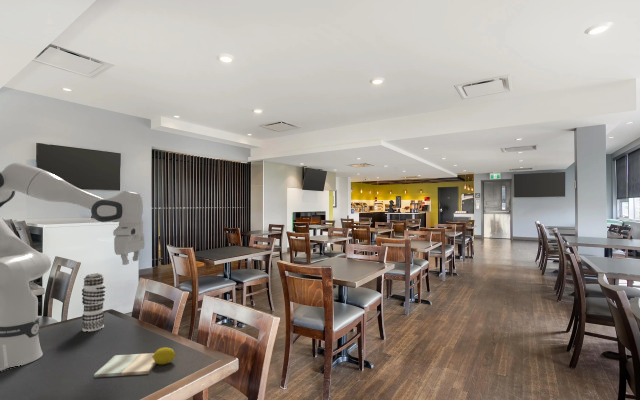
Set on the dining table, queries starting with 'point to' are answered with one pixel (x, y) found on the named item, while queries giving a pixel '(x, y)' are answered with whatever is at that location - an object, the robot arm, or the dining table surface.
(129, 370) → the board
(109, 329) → the dining table surface
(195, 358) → the dining table surface
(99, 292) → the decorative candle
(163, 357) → the lemon
